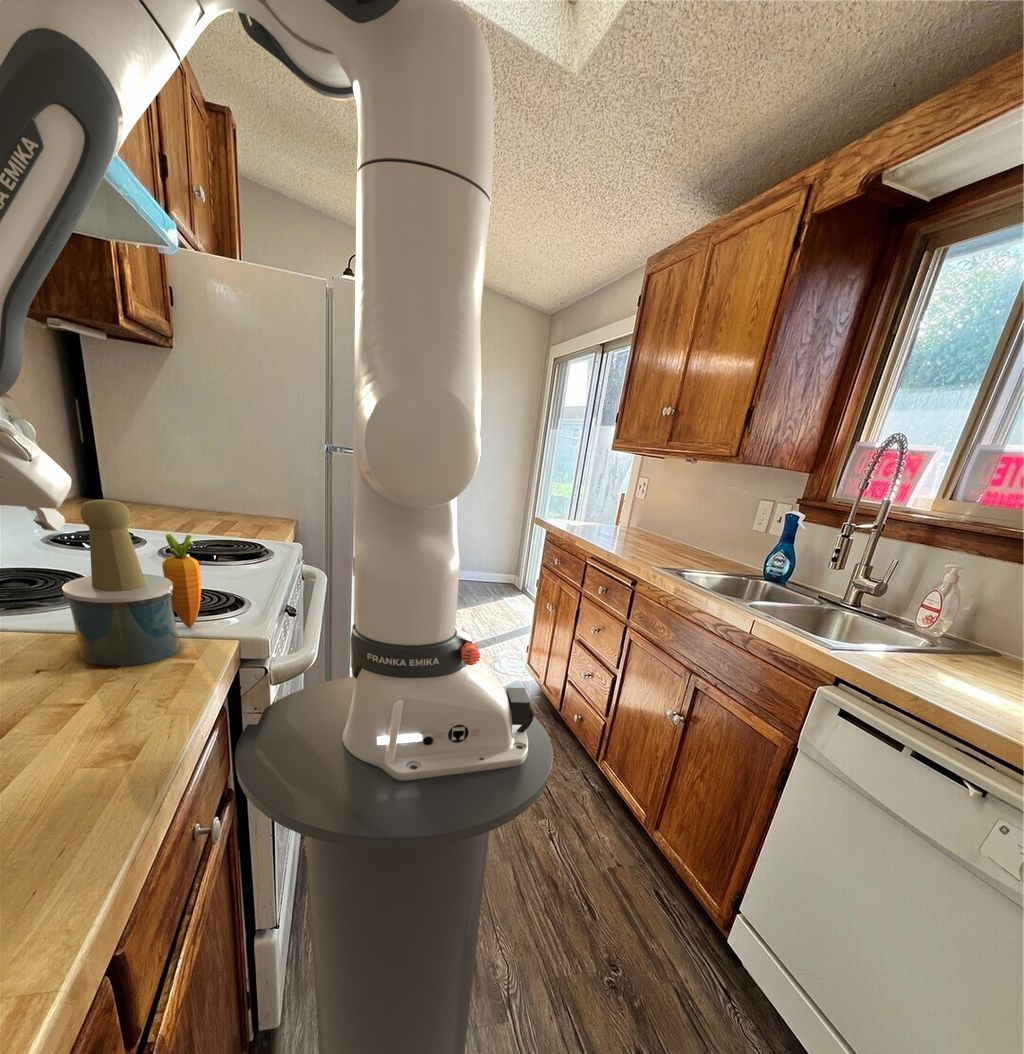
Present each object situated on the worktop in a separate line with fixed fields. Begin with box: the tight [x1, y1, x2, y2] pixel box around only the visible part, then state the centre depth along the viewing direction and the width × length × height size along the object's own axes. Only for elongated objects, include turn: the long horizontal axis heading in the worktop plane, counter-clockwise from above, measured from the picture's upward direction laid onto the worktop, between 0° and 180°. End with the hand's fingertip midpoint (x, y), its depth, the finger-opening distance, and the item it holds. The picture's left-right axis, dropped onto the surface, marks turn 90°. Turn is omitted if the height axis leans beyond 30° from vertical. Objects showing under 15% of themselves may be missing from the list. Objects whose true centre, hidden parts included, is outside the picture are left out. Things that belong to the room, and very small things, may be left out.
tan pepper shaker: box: [80, 499, 146, 591], centre depth 73 cm, size 6×6×11 cm
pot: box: [61, 573, 180, 667], centre depth 77 cm, size 12×12×10 cm
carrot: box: [161, 533, 202, 629], centre depth 86 cm, size 5×5×15 cm
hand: (14, 522), depth 59 cm, fingers open, 8 cm apart
